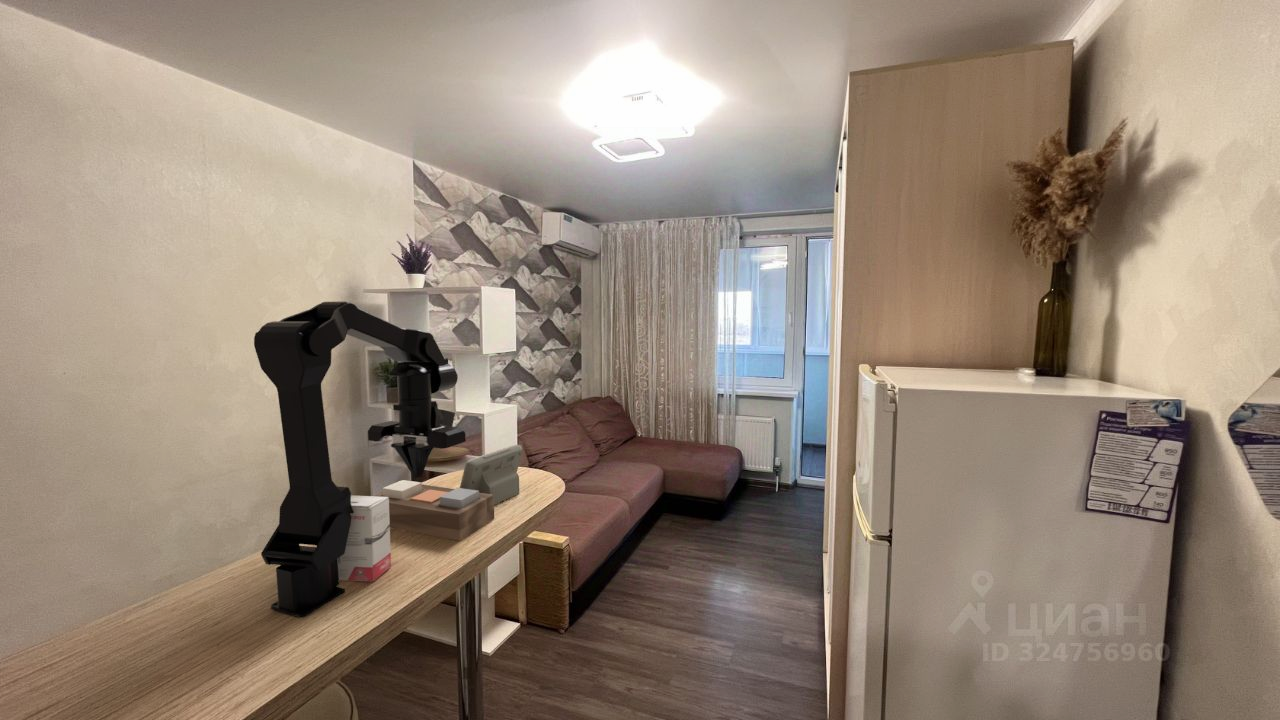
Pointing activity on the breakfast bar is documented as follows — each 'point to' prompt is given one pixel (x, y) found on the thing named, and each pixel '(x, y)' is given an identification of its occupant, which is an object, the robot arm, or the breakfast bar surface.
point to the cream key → (402, 489)
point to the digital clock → (494, 473)
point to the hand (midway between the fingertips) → (418, 478)
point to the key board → (440, 515)
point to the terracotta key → (429, 496)
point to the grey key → (459, 498)
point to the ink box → (367, 540)
